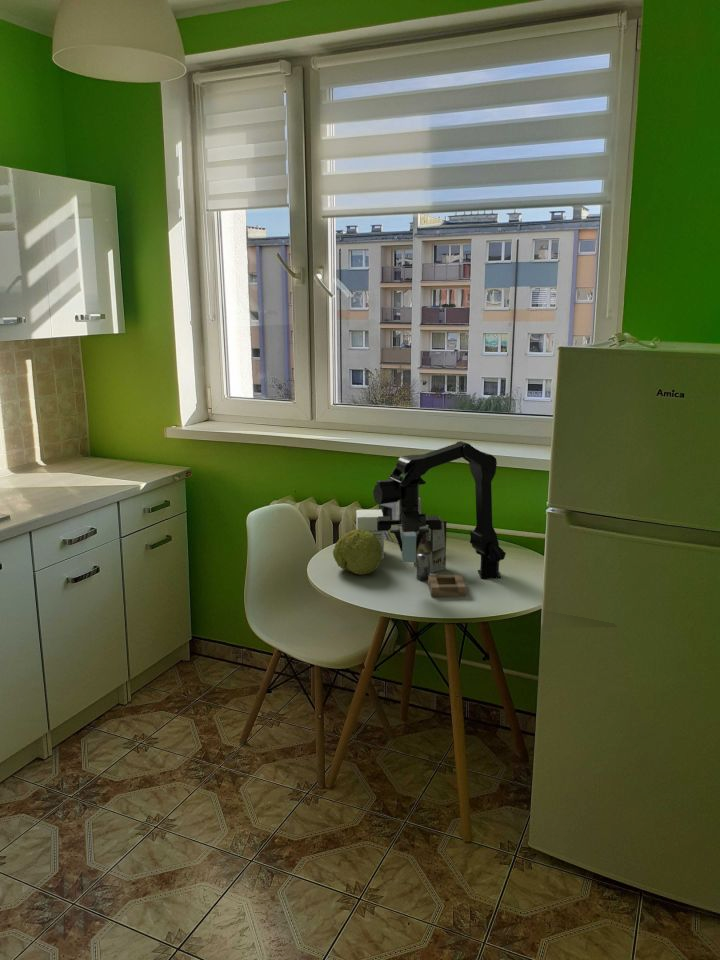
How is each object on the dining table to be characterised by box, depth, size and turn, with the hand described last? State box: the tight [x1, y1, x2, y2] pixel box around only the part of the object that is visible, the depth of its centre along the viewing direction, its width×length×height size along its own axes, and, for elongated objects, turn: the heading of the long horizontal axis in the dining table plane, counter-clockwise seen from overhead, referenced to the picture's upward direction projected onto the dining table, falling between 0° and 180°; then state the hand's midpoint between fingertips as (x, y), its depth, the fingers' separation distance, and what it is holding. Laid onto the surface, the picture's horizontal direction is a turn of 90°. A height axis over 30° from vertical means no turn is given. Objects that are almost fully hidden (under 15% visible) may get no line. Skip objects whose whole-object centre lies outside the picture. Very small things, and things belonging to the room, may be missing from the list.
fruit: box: [332, 528, 383, 576], centre depth 245 cm, size 16×14×15 cm
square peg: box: [401, 532, 416, 563], centre depth 227 cm, size 4×4×8 cm
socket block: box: [427, 574, 467, 598], centre depth 231 cm, size 10×10×3 cm
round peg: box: [416, 552, 431, 582], centre depth 240 cm, size 4×4×8 cm
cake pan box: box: [377, 497, 422, 544], centre depth 273 cm, size 19×5×18 cm, turn 38°
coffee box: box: [413, 514, 447, 573], centre depth 248 cm, size 9×6×16 cm
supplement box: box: [355, 509, 385, 560], centre depth 260 cm, size 9×9×15 cm
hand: (408, 550), depth 228 cm, fingers closed on square peg, 4 cm apart
